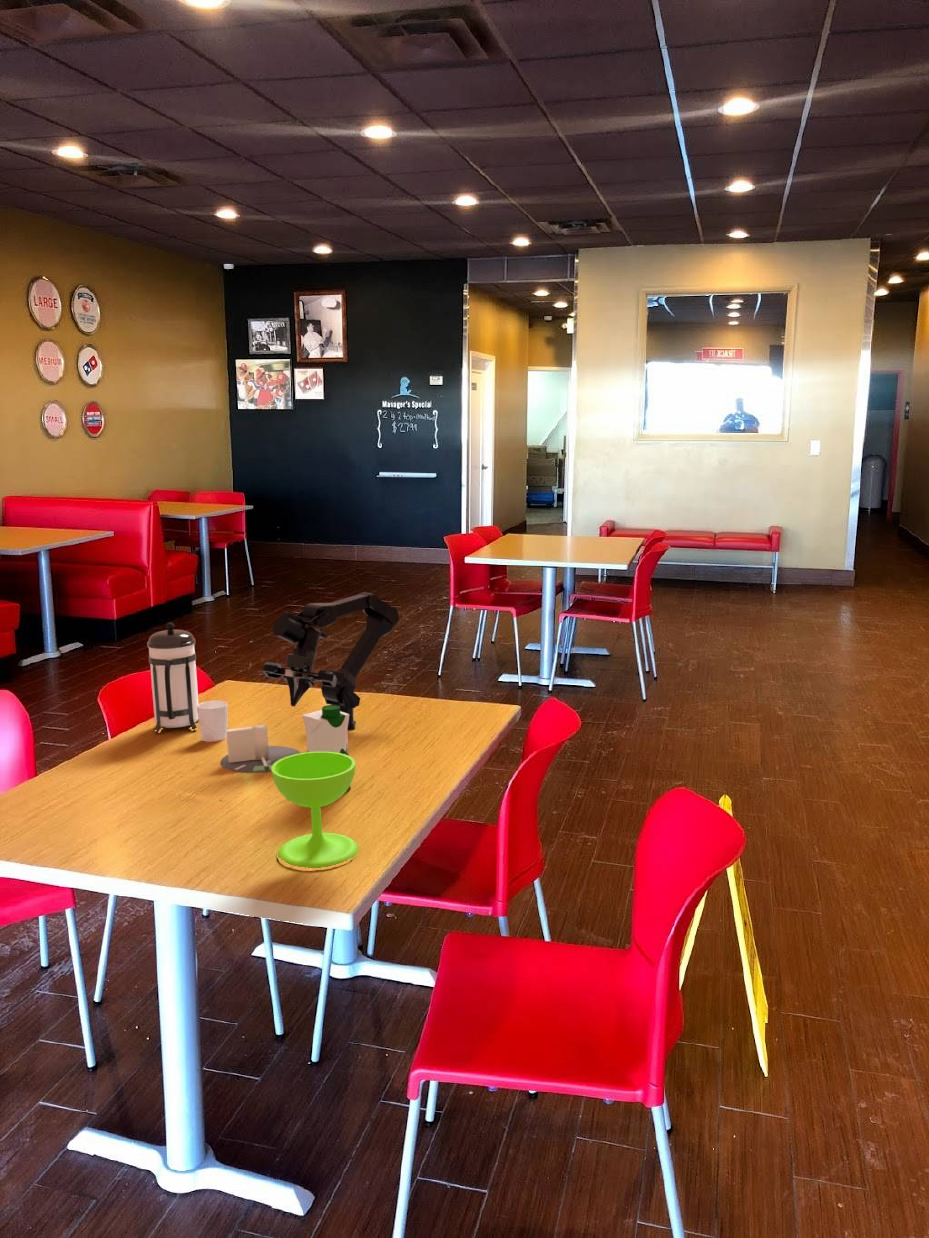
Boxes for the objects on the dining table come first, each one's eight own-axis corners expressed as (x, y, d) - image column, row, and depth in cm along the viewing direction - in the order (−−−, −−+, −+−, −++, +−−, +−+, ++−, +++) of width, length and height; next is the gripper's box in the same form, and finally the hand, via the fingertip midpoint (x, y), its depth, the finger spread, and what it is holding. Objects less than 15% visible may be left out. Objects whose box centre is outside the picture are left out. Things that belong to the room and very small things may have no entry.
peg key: (267, 754, 241) (266, 723, 240) (274, 769, 230) (272, 737, 229) (228, 759, 238) (225, 728, 236) (233, 774, 227) (230, 742, 226)
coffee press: (136, 729, 267) (127, 624, 261) (185, 716, 279) (178, 615, 273) (171, 741, 256) (162, 631, 250) (221, 727, 268) (214, 622, 262)
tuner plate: (318, 756, 242) (318, 752, 242) (264, 781, 226) (264, 777, 225) (259, 744, 252) (259, 740, 252) (203, 767, 236) (202, 763, 235)
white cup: (193, 743, 254) (190, 707, 253) (211, 734, 262) (208, 699, 260) (217, 746, 252) (215, 709, 250) (235, 737, 259) (233, 701, 257)
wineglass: (262, 849, 188) (257, 762, 185) (335, 829, 197) (331, 746, 194) (298, 879, 176) (293, 786, 172) (374, 856, 185) (371, 767, 181)
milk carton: (325, 799, 214) (321, 713, 210) (301, 789, 220) (297, 705, 216) (356, 789, 220) (353, 705, 216) (332, 779, 226) (328, 697, 222)
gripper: (264, 634, 246) (250, 692, 241) (335, 645, 244) (322, 703, 239) (273, 647, 256) (260, 703, 251) (342, 657, 255) (329, 714, 250)
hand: (292, 706), depth 247 cm, fingers closed
